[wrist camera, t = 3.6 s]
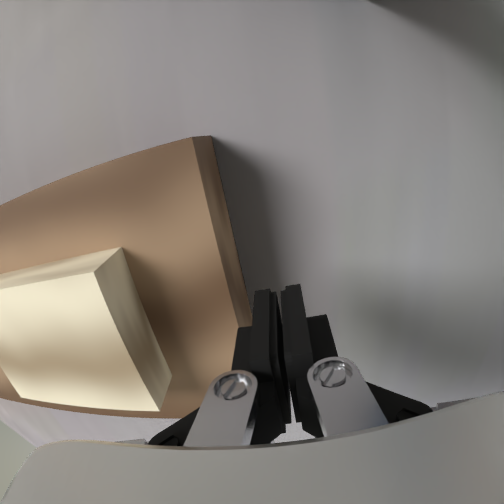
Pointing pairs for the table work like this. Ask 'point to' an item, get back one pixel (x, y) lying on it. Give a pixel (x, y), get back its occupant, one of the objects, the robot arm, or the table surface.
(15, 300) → the birch tile
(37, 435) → the table surface
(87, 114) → the table surface
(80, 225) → the walnut deck
